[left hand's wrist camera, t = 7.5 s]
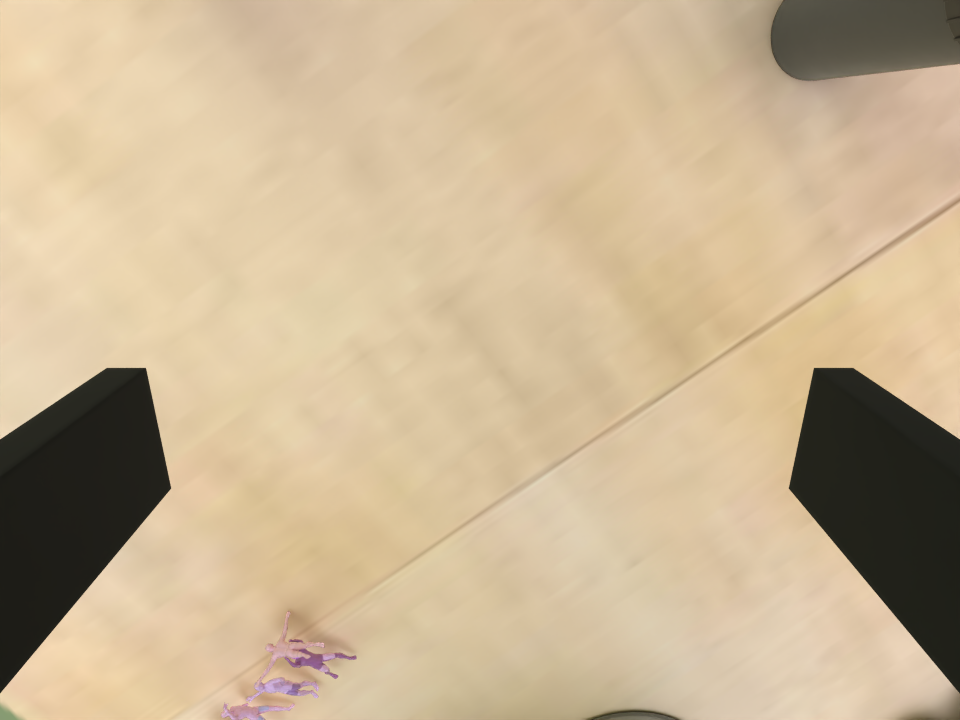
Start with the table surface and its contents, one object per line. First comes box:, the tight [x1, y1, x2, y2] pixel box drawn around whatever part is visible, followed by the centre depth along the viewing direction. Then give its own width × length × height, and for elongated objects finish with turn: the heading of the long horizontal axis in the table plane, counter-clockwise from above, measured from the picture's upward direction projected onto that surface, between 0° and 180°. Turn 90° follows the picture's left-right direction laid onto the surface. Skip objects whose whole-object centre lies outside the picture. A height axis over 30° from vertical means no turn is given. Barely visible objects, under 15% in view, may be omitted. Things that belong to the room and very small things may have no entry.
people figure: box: [221, 611, 356, 720], centre depth 50 cm, size 18×6×8 cm
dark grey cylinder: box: [771, 0, 960, 81], centre depth 27 cm, size 5×5×16 cm
